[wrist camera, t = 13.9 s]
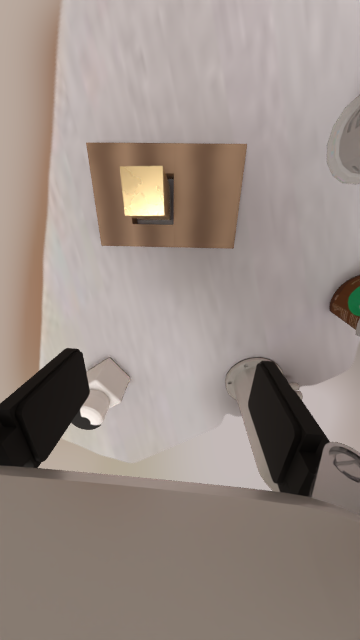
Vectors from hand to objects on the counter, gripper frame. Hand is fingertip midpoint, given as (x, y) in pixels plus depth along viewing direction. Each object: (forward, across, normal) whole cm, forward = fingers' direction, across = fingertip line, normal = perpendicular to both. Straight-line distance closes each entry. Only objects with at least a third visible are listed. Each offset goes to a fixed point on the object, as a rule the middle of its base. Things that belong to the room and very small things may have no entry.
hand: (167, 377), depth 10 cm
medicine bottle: (+26, +17, +22) cm, 38 cm away
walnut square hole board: (+25, +3, -12) cm, 28 cm away
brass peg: (+25, +5, -12) cm, 28 cm away
